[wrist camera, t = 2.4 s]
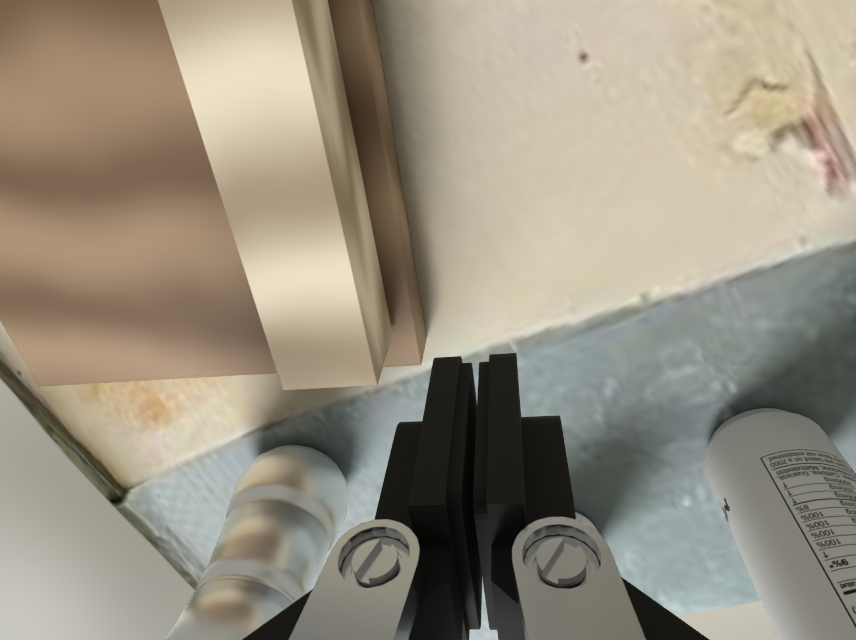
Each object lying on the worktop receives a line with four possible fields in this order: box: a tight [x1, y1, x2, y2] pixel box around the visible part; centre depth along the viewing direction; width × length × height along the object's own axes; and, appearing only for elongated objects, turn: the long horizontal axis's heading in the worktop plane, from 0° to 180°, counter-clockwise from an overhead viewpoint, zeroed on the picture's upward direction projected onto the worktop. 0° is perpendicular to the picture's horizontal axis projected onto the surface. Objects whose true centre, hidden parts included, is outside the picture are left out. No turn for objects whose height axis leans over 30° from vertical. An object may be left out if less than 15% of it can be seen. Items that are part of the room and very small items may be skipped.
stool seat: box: [0, 0, 427, 386], centre depth 25 cm, size 22×21×2 cm
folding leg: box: [158, 0, 393, 390], centre depth 21 cm, size 18×4×4 cm, turn 8°
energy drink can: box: [704, 408, 856, 640], centre depth 24 cm, size 6×6×15 cm
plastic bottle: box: [165, 445, 348, 640], centre depth 27 cm, size 6×7×20 cm
